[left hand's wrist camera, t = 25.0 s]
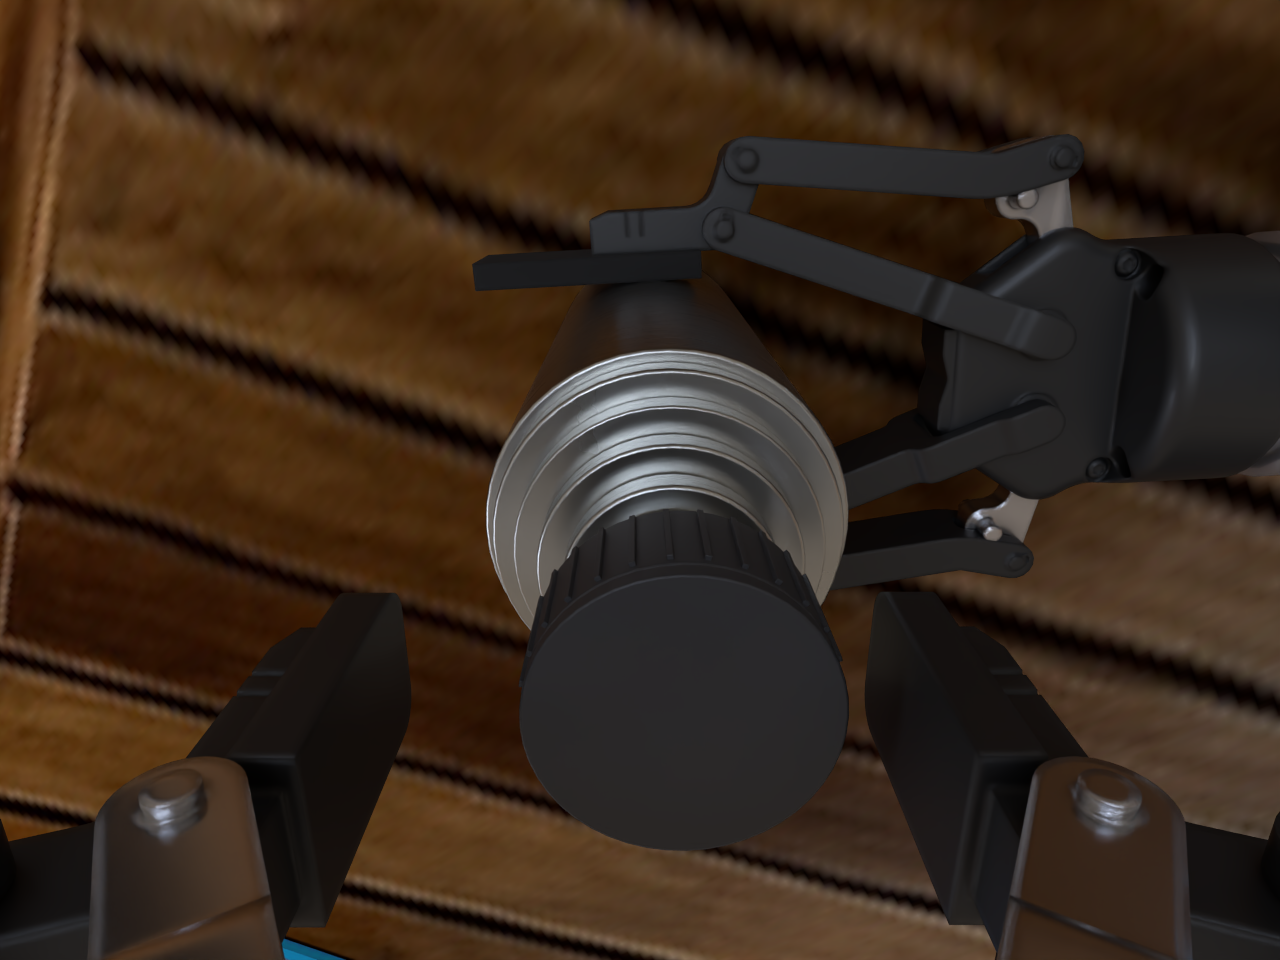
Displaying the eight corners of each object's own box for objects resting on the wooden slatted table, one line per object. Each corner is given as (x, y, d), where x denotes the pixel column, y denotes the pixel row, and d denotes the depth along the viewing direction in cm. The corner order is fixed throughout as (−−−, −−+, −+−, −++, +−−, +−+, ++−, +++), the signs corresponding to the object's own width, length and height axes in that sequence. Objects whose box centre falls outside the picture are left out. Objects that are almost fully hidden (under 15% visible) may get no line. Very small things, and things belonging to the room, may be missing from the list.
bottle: (552, 423, 33) (406, 866, 12) (571, 243, 31) (428, 402, 10) (725, 445, 33) (877, 913, 12) (757, 269, 31) (1013, 476, 10)
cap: (482, 574, 12) (453, 651, 10) (756, 458, 11) (781, 516, 9) (608, 790, 13) (603, 894, 11) (859, 697, 13) (898, 790, 11)
